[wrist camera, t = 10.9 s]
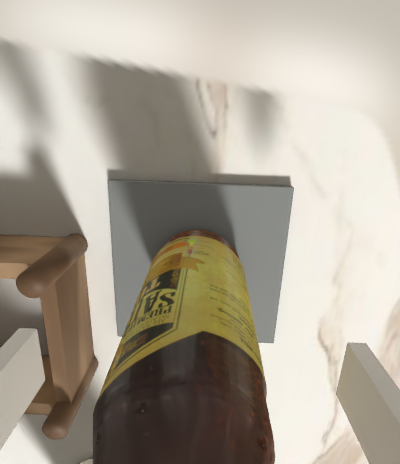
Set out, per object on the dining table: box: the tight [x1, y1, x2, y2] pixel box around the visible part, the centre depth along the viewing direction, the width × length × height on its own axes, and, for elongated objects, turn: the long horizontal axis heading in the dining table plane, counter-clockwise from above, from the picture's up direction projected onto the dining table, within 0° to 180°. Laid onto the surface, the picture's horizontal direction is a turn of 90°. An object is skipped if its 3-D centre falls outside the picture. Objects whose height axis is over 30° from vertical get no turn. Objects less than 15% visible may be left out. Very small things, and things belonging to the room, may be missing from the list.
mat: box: [108, 179, 294, 343], centre depth 22 cm, size 12×12×1 cm
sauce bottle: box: [93, 230, 275, 464], centre depth 13 cm, size 6×6×20 cm
